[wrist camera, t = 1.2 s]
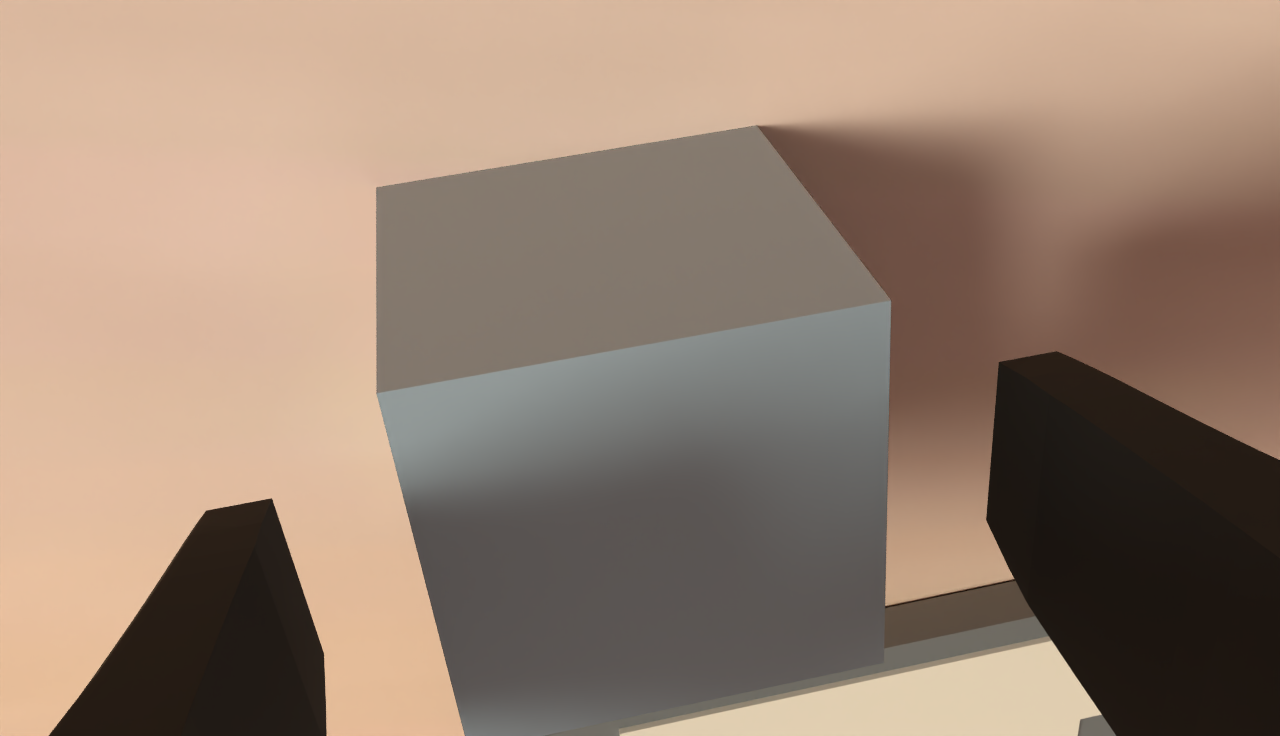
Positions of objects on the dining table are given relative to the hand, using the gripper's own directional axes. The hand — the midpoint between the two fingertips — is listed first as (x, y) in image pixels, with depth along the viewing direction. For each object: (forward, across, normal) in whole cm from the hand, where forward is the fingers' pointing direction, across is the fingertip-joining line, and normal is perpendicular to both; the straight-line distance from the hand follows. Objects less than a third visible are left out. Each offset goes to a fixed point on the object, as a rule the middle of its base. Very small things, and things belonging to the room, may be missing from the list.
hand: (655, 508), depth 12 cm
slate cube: (+4, 0, 0) cm, 4 cm away
